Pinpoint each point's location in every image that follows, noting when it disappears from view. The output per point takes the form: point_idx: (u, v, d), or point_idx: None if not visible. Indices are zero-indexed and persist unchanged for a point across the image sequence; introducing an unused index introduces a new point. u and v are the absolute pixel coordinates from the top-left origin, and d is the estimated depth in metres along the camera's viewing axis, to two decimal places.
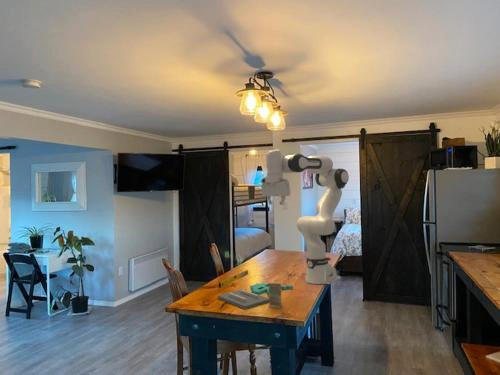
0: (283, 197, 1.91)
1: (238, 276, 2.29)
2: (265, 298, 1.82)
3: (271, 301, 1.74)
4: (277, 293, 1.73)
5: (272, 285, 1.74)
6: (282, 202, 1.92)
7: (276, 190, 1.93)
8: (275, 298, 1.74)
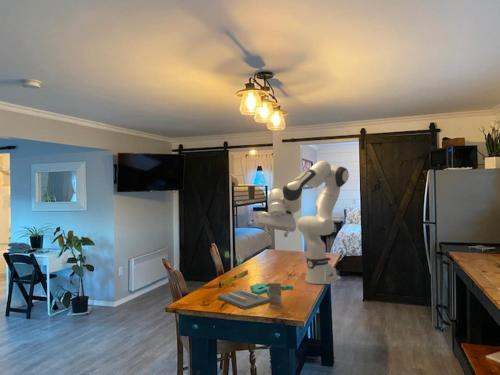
0: (264, 227, 1.84)
1: (238, 276, 2.29)
2: (265, 298, 1.82)
3: (271, 301, 1.74)
4: (277, 293, 1.73)
5: (272, 285, 1.74)
6: (266, 231, 1.82)
7: None
8: (275, 298, 1.74)
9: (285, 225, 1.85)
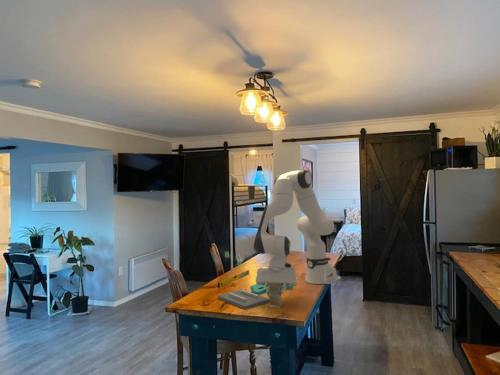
0: (265, 285, 1.79)
1: (238, 276, 2.29)
2: (265, 298, 1.82)
3: (271, 301, 1.74)
4: (277, 293, 1.73)
5: (272, 285, 1.74)
6: None
7: None
8: (275, 298, 1.74)
9: (283, 281, 1.76)
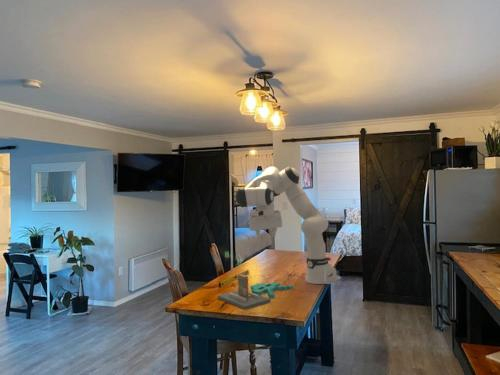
0: None
1: None
2: (265, 298, 1.82)
3: (239, 292, 1.86)
4: (242, 285, 1.84)
5: (239, 277, 1.86)
6: None
7: (272, 222, 1.90)
8: (241, 289, 1.84)
9: None
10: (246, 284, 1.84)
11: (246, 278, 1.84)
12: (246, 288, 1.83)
